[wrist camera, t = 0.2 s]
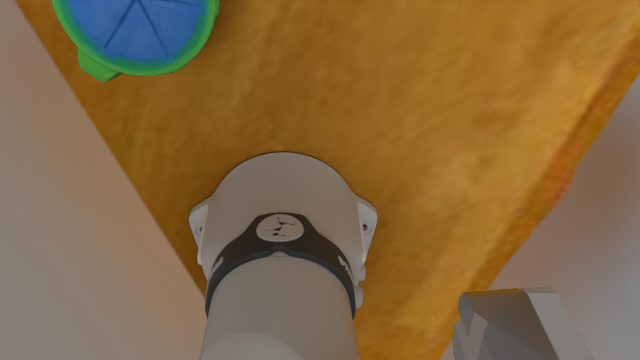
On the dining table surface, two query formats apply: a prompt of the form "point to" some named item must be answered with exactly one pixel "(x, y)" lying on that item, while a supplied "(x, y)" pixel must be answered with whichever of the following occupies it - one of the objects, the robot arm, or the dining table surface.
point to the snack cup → (136, 34)
